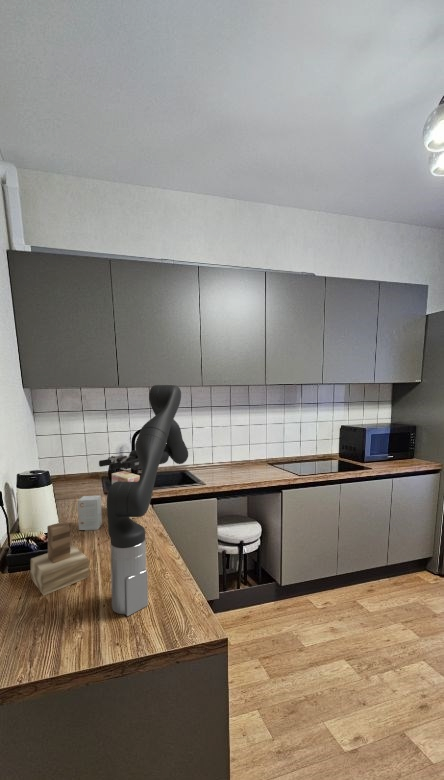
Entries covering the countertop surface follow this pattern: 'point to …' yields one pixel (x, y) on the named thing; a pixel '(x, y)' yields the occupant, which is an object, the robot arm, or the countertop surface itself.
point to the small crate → (58, 542)
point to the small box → (89, 512)
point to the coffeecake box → (125, 478)
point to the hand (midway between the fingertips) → (104, 465)
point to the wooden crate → (59, 571)
